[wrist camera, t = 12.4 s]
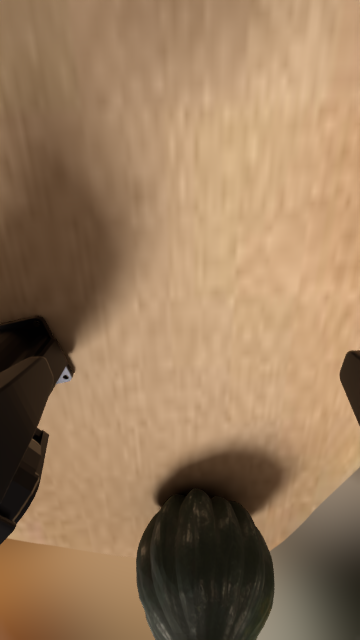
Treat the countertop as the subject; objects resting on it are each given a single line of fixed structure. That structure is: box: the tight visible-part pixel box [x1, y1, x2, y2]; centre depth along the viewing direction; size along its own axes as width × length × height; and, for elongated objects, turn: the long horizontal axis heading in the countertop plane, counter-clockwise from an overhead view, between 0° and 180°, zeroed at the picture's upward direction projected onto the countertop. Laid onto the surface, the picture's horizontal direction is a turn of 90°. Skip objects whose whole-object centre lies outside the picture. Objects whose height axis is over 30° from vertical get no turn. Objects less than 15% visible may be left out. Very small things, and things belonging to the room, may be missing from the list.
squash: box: [136, 488, 274, 640], centre depth 28 cm, size 14×15×15 cm
